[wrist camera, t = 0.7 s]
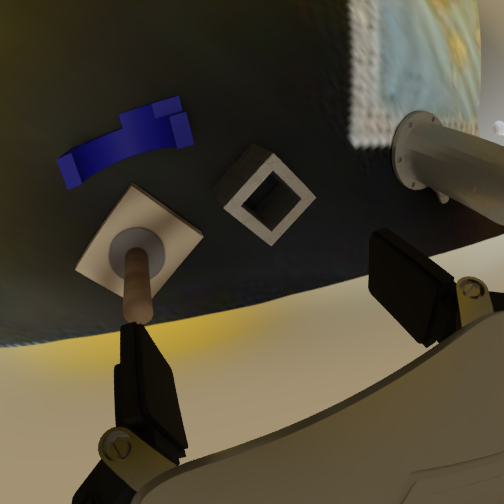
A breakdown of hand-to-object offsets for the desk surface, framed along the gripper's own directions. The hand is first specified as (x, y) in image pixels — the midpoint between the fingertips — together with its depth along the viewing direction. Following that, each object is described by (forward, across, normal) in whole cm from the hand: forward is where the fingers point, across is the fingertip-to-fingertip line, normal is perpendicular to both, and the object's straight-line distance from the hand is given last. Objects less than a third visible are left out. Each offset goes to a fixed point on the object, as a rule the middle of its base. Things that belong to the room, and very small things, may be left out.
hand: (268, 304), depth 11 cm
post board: (+24, +9, +7) cm, 27 cm away
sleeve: (+24, -6, +5) cm, 26 cm away
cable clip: (+25, +5, -5) cm, 26 cm away
